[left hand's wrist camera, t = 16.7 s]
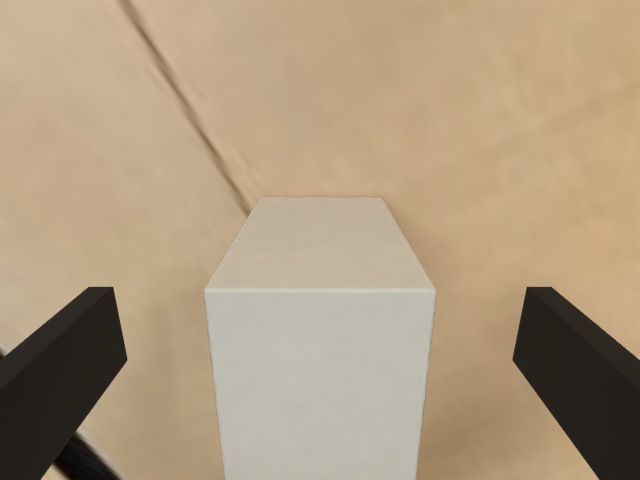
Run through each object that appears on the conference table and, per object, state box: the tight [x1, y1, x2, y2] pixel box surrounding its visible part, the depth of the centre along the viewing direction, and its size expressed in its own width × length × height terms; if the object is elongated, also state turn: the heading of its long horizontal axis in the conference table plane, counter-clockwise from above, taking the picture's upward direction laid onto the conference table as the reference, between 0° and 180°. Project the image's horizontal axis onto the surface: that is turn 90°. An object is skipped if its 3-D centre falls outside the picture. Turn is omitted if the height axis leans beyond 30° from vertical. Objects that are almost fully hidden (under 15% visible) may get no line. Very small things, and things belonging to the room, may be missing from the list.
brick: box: [204, 197, 437, 480], centre depth 13 cm, size 5×6×8 cm
